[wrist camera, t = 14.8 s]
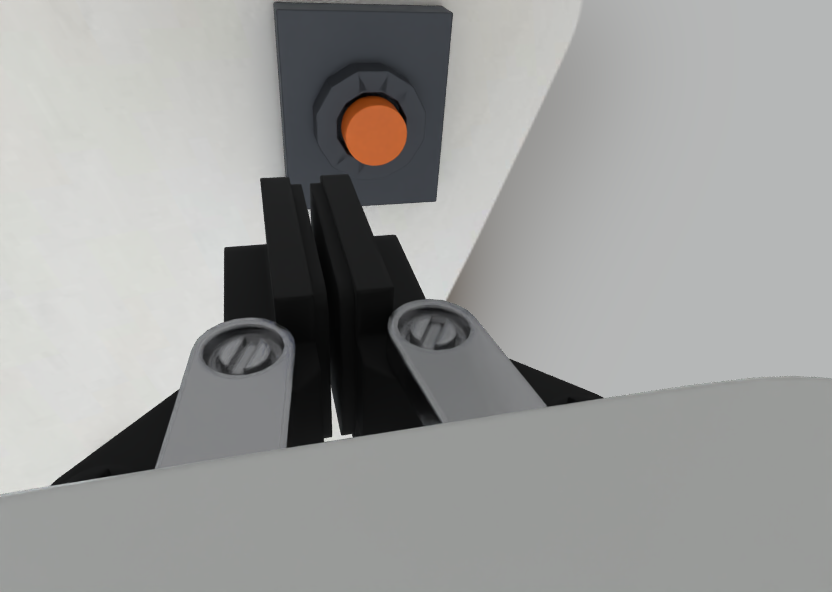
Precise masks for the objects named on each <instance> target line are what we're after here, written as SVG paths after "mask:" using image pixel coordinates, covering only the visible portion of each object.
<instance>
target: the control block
mask: <svg viewBox="0 0 832 592" xmlns="http://www.w3.org/2000/svg"><path fill="white" fill-rule="evenodd" d="M273 6H274V20H275V34H276V48H277V62H278V76H279V90H280V104H281V118H282V132H283V146H284V160H285V174H286V177H289V178H290V183H291V184H301V185H302V189H303V193H304V197H305V202H306V206H307V209H310V183H320V176H321V175H339V174H349V176H350V178H351V181H352V183H353V186H354V188H355V191H356V193H357V196H358V198H359V201H360V203H361V206H370V205H387V204H403V203H419V202H435V201H436V197H437V186H438V175H439V164H440V153H441V141H442V130H443V119H444V108H445V97H446V86H447V74H448V63H449V52H450V41H451V30H452V19H453V13H452V12H450V11H449V10H447V9H446V8H444V7H443V6H422V5H378V4H334V3H290V2H274V4H273ZM366 96H378V97H382V98H384V99H386V100H388V101H389V102H391V103H392V104H393V105H394V106H395V108H396V109H397V110H398V112H399V113H400V115H401V116H402V118H403V119H404V121H405V124H406V127H407V139H406V143H405V146H404V148H403V150H402V151H401V153H400V154H399V155H398V156H397V157H396V158H395V159H393V160H392V161H390V162H388V163H386V164H383V165H378V166H371V165H366V164H363V163H361V162H359V161H358V160H356V159H355V158H354V157H353V156H352V155H351V153H350V152H349V150H348V148H347V146H346V143H345V141H344V139H343V136H342V132H341V122H342V118H343V115H344V113H345V111H346V110H347V108H348V107H349V106H350V105H351V104H352V103H353V102H355V101H356V100H358V99H360V98H362V97H366Z"/></svg>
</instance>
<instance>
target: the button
mask: <svg viewBox="0 0 832 592" xmlns="http://www.w3.org/2000/svg"><path fill="white" fill-rule="evenodd" d="M341 132H342V136H343V139H344V141H345V143H346V146H347V148H348V150H349V152H350V153H351V155H352V156H353V157H354V158H355V159H356V160H358V161H359V162H361V163H363V164H366V165H371V166H378V165H383V164H386V163H388V162H390V161H392V160H393V159H395V158H396V157H397V156H398V155H399V154H400V153H401V151H402V150H403V148H404V146H405V143H406V139H407V127H406V124H405V121H404V119H403V118H402V116H401V115H400V113H399V112H398V110H397V109H396V108H395V106H394V105H393V104H392V103H391V102H389V101H388V100H386V99H384V98H382V97H378V96H366V97H362V98H360V99H358V100H356V101H355V102H353V103H352V104H351V105H350V106H349V107H348V108H347V110H346V111H345V113H344V115H343V118H342V122H341Z"/></svg>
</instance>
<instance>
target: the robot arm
mask: <svg viewBox="0 0 832 592" xmlns="http://www.w3.org/2000/svg"><path fill="white" fill-rule="evenodd" d="M260 181H261V192H262V202H263V212H264V222H265V232H266V242H267V244H263V245H250V246H236V247H225V248H224V323H220V324H218V325H216V326H215V327H213V328H211V329H209V330H207V331H206V332H205V333H204V334H203V335H202V336H200V337H199V338H198V339H197V341H196V343H195V344H194V346H193V348H192V350H191V353H190V357H189V360H188V363H187V366H186V370H185V373H184V376H183V379H182V383H181V386H180V389H179V390H177V391H176V392H175V393H173V394H172V395H171V396H169V397H168V398H166V399H165V400H164V401H162V402H161V403H160V404H158V405H157V406H156V407H154V408H153V409H152V410H150V411H149V412H148V413H146V414H145V415H143V416H142V417H141V418H139V419H138V420H137V421H135V422H134V423H133V424H131V425H130V426H129V427H127V428H126V429H125V430H123V431H122V432H120V433H119V434H118V435H116V436H115V437H114V438H112V439H111V440H110V441H108V442H107V443H106V444H104V445H103V446H102V447H100V448H99V449H97V450H96V451H95V452H93V453H92V454H91V455H89V456H88V457H87V458H85V459H84V460H83V461H81V462H80V463H79V464H77V465H76V466H74V467H73V468H72V469H70V470H69V471H68V472H66V473H65V474H64V475H62V476H61V477H60V478H58V479H57V480H56V481H55V482H54V483H53V484H52V485H50V486H48V487H42V488H36V489H30V490H23V491H17V492H11V493H5V494H0V592H832V379H831V378H820V377H818V378H817V377H800V376H784V377H759V378H747V379H738V380H731V381H721V382H713V383H704V384H696V385H688V386H681V387H675V388H668V389H662V390H655V391H648V392H642V393H635V394H629V395H622V396H616V397H609V398H603V397H601V396H599V395H597V394H595V393H592V392H590V391H587V390H585V389H583V388H580V387H577V386H575V385H573V384H570V383H568V382H565V381H563V380H560V379H558V378H556V377H553V376H551V375H548V374H545V373H543V372H541V371H538V370H536V369H533V368H531V367H528V366H526V365H523V364H521V363H519V362H516V361H513V360H511V359H509V358H508V357H507V356H506V355H505V354H504V353H503V351H502V350H501V349H500V347H499V346H498V345H497V344H496V343H495V341H494V340H493V339H492V338H491V336H490V335H489V334H488V333H487V332H486V330H485V329H484V328H483V327H482V325H481V324H480V323H479V322H478V320H477V319H476V318H475V317H474V316H473V315H472V314H471V313H470V312H469V311H468V310H466V309H464V308H462V307H460V306H459V305H457V304H454V303H450V302H447V301H443V300H434V299H425V296H424V294H423V292H422V290H421V288H420V286H419V283H418V281H417V279H416V277H415V275H414V273H413V270H412V268H411V266H410V264H409V262H408V260H407V258H406V255H405V253H404V251H403V249H402V247H401V245H400V242H399V240H398V238H397V237H396V235H384V236H373V233H372V231H371V228H370V226H369V223H368V221H367V218H366V216H365V213H364V211H363V208H362V206H361V203H360V201H359V198H358V196H357V193H356V191H355V188H354V186H353V183H352V181H351V178H350V176H349V174H339V175H321V176H320V183H310V209H311V223H310V218H309V214H308V210H307V206H306V202H305V197H304V193H303V189H302V185H301V184H291V183H290V178H289V177H277V178H260ZM331 388H332V393H333V398H334V403H335V408H336V413H337V418H338V423H339V428H340V432H341V435H348V434H352V436H353V438H347V439H341V440H335V441H328V442H324V438H329V437H332V411H331Z"/></svg>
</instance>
